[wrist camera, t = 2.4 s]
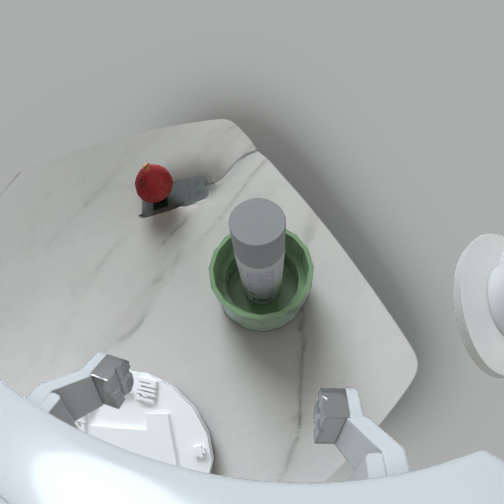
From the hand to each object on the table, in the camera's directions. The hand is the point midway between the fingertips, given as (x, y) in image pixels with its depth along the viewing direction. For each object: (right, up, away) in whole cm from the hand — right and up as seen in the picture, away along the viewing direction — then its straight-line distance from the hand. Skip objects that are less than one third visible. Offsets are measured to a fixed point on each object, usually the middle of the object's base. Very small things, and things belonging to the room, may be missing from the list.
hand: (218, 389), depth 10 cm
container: (+3, +1, +25) cm, 25 cm away
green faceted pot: (+3, +1, +25) cm, 25 cm away
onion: (-13, +14, +33) cm, 39 cm away
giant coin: (-13, -19, +16) cm, 28 cm away
